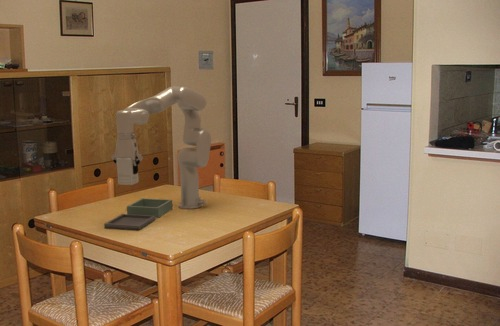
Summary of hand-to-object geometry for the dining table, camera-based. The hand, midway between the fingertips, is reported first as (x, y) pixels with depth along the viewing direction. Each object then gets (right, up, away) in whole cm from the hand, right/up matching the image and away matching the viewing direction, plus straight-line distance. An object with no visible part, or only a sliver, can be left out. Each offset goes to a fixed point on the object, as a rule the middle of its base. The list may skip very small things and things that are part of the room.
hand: (127, 173), depth 272 cm
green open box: (+6, -21, +25) cm, 33 cm away
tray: (0, -25, +4) cm, 25 cm away
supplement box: (0, -5, +1) cm, 5 cm away
